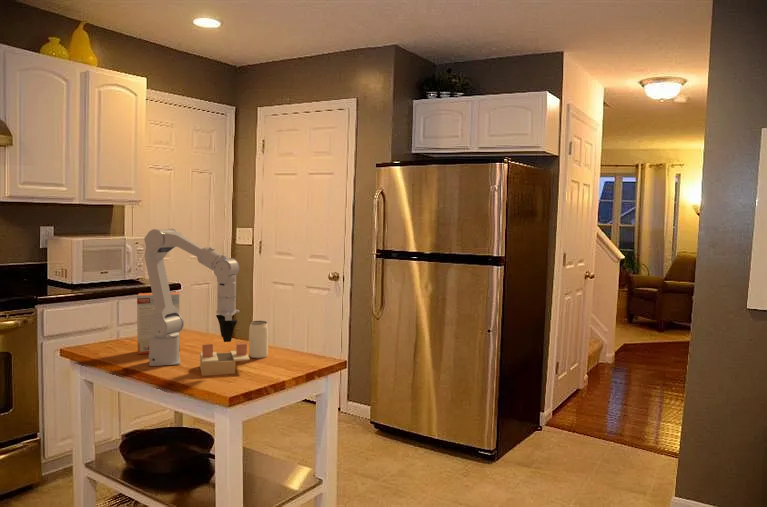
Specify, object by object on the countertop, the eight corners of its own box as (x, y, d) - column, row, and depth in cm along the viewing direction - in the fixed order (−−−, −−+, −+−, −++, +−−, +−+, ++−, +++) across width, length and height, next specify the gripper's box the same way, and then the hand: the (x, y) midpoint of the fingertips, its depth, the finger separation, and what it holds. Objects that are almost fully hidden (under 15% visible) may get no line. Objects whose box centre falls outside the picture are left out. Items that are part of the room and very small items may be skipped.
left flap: (202, 362, 186) (202, 349, 185) (200, 353, 197) (200, 341, 196) (218, 361, 187) (218, 348, 187) (215, 353, 198) (215, 341, 198)
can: (252, 353, 215) (252, 319, 214) (270, 354, 215) (270, 320, 214) (246, 358, 209) (246, 323, 208) (264, 359, 208) (265, 324, 207)
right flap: (233, 360, 189) (234, 348, 189) (230, 352, 200) (230, 340, 199) (249, 359, 190) (249, 347, 190) (245, 351, 201) (245, 339, 201)
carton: (201, 375, 186) (201, 362, 185) (200, 366, 197) (200, 353, 197) (235, 373, 189) (235, 361, 189) (231, 364, 200) (231, 352, 200)
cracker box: (179, 348, 220) (179, 291, 219) (179, 352, 215) (179, 294, 213) (138, 350, 216) (138, 292, 215) (137, 354, 210) (136, 294, 209)
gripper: (242, 300, 187) (241, 343, 188) (237, 293, 201) (236, 334, 202) (218, 300, 185) (218, 344, 186) (214, 293, 198) (214, 334, 199)
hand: (226, 339), depth 193 cm, fingers open, 7 cm apart
